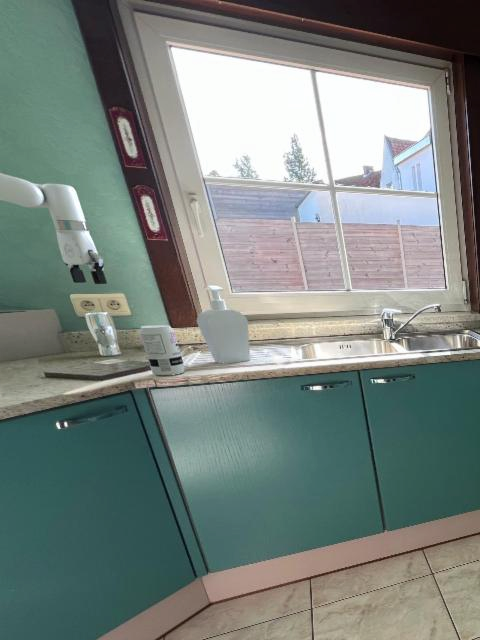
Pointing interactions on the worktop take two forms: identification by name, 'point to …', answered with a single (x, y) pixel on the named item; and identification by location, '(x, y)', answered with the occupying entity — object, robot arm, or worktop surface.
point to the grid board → (101, 370)
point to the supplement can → (162, 349)
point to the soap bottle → (224, 330)
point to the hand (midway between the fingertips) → (90, 283)
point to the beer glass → (103, 332)
